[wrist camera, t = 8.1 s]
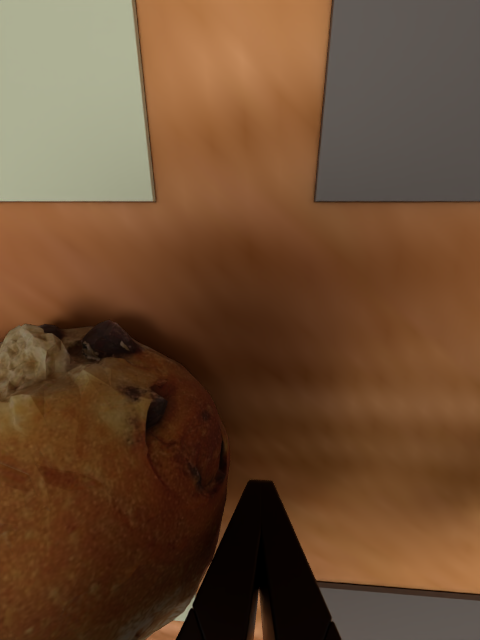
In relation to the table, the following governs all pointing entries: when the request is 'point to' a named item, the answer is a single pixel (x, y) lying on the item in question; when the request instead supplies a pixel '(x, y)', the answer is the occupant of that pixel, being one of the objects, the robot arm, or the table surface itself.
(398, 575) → the table surface
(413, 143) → the trap lane
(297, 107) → the table surface
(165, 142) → the table surface
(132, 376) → the bread roll
